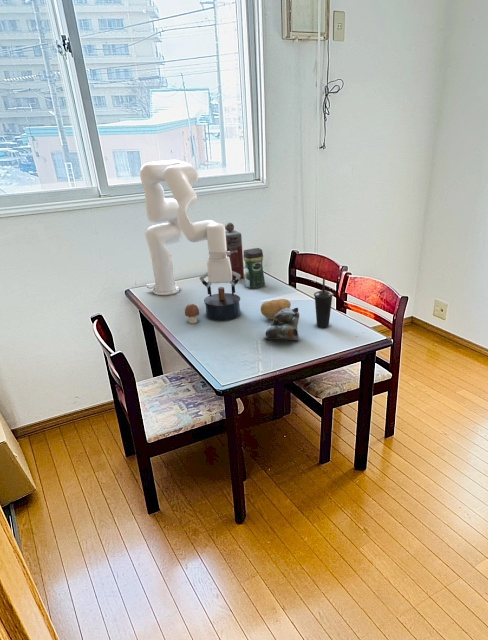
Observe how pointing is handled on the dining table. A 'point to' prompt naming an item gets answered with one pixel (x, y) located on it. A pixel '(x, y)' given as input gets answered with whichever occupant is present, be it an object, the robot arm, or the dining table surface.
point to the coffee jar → (254, 268)
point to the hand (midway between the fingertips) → (221, 295)
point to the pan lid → (221, 299)
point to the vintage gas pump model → (234, 250)
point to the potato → (274, 307)
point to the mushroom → (192, 312)
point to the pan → (223, 312)
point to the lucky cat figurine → (284, 325)
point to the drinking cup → (323, 306)
